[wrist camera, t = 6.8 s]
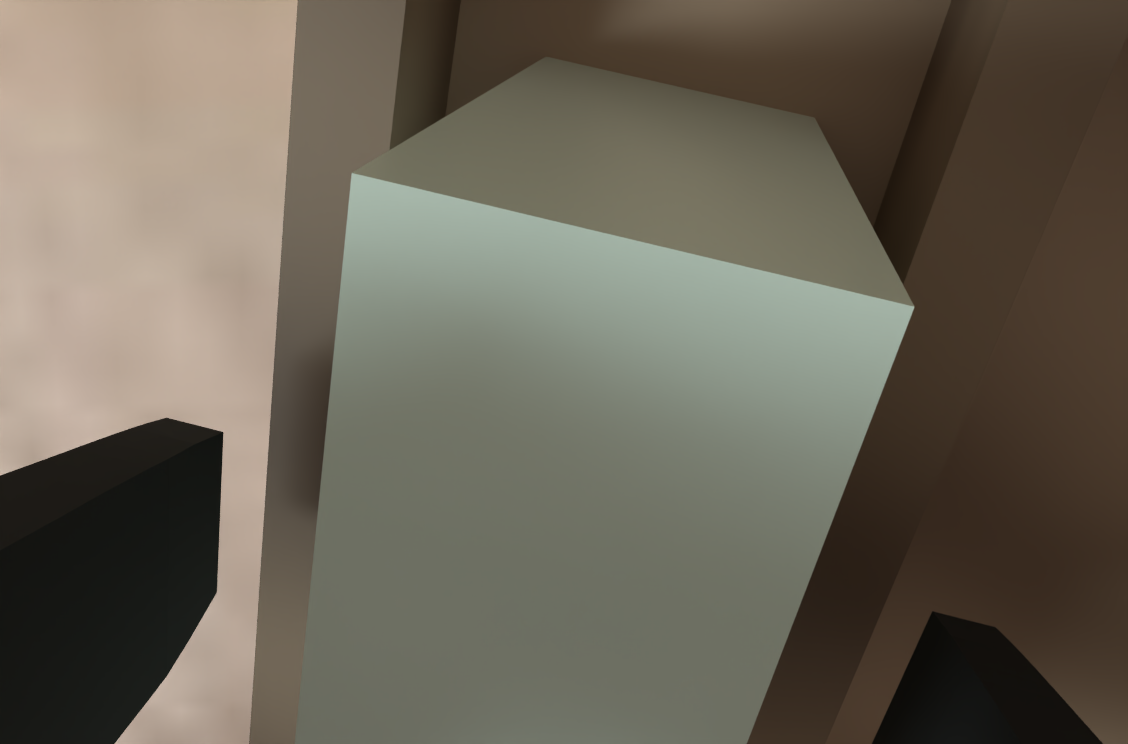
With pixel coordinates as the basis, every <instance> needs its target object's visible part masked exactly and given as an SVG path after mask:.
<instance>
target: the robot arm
mask: <svg viewBox="0 0 1128 744" xmlns="http://www.w3.org/2000/svg"><path fill="white" fill-rule="evenodd" d="M222 451H223V432H221V431H217V430H213V429H209V428H205V427H201V426H197V425H193V424H189V423H185V422H181V421H177V420H173V419H169V418H164V419H161V420H157V421H153V422H150V423H146V424H143V425H140V426H137V427H134V428H131V429H128V430H125V431H122V432H119V433H116V434H114V435H111V436H108V437H105V438H102V439H99V440H97V441H94V442H91V443H88V444H86V445H83V446H80V447H78V448H75V449H72V450H69V451H67V452H64V453H61V454H59V455H56V456H53V457H50V458H48V459H45V460H42V461H39V462H37V463H34V464H31V465H28V466H26V467H23V468H20V469H17V470H15V471H12V472H9V473H6V474H4V475H1V476H0V744H114V743H115V742H116V741H117V740H118V738H119V737H120V736H121V734H122V733H123V732H124V731H125V729H126V728H127V727H128V725H129V724H130V723H131V722H132V720H133V719H134V718H135V717H136V715H137V714H138V713H139V711H140V710H141V709H142V708H143V706H144V705H145V704H146V702H147V701H148V700H149V699H150V697H151V696H152V695H153V693H154V692H155V691H156V689H157V688H158V687H159V685H160V684H161V683H162V682H163V680H164V679H165V678H166V676H167V675H168V673H169V671H170V670H171V668H172V667H173V665H174V663H175V662H176V660H177V659H178V657H179V655H180V654H181V652H182V651H183V649H184V647H185V646H186V644H187V642H188V641H189V639H190V638H191V636H192V634H193V632H194V631H195V629H196V627H197V625H198V624H199V622H200V620H201V619H202V617H203V615H204V613H205V612H206V610H207V608H208V606H209V605H210V603H211V601H212V600H213V598H214V596H215V594H216V593H217V573H218V548H219V524H220V500H221V475H222ZM872 744H1103V743H1102V742H1101V741H1100V740H1099V739H1098V737H1097V736H1096V735H1095V734H1094V733H1093V732H1092V731H1091V730H1090V728H1089V727H1088V726H1087V725H1086V724H1085V723H1084V722H1083V721H1082V719H1081V718H1080V717H1079V716H1078V715H1077V714H1076V713H1075V712H1074V710H1073V709H1072V708H1071V707H1070V706H1069V705H1068V704H1067V703H1066V702H1065V700H1064V699H1063V698H1062V697H1061V696H1060V695H1059V694H1058V693H1057V691H1056V690H1055V689H1054V688H1053V687H1052V686H1051V685H1050V684H1049V683H1048V681H1047V680H1046V679H1045V678H1044V677H1043V676H1042V675H1041V674H1040V673H1039V672H1038V670H1037V669H1036V668H1035V667H1034V666H1033V665H1032V664H1031V663H1030V662H1029V661H1028V660H1027V658H1026V657H1025V656H1024V655H1023V654H1022V653H1021V652H1020V651H1019V650H1018V649H1017V648H1016V647H1015V646H1014V645H1013V644H1012V643H1011V642H1010V641H1009V640H1008V639H1007V638H1006V637H1005V636H1004V635H1003V634H1002V633H1001V632H1000V631H999V630H998V629H997V628H996V627H993V626H989V625H985V624H981V623H977V622H973V621H969V620H965V619H961V618H957V617H953V616H950V615H946V614H942V613H938V612H934V611H932V613H931V615H930V617H929V619H928V622H927V624H926V626H925V628H924V630H923V632H922V635H921V637H920V639H919V641H918V643H917V646H916V648H915V650H914V652H913V654H912V657H911V659H910V661H909V663H908V665H907V668H906V670H905V672H904V674H903V676H902V679H901V681H900V683H899V685H898V687H897V690H896V692H895V694H894V696H893V698H892V700H891V703H890V705H889V707H888V709H887V711H886V714H885V716H884V718H883V720H882V722H881V725H880V727H879V729H878V731H877V733H876V736H875V738H874V740H873V742H872Z"/></svg>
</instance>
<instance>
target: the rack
mask: <svg viewBox="0 0 1128 744" xmlns="http://www.w3.org/2000/svg"><path fill="white" fill-rule="evenodd" d="M544 57H550V58H555V59H559V60H563V61H568V62H572V63H577V64H581V65H585V66H590V67H594V68H599V69H603V70H607V71H612V72H616V73H621V74H625V75H629V76H634V77H638V78H643V79H647V80H651V81H656V82H660V83H664V84H669V85H673V86H678V87H682V88H686V89H691V90H695V91H700V92H704V93H708V94H713V95H717V96H722V97H726V98H730V99H735V100H739V101H744V102H748V103H752V104H757V105H761V106H766V107H770V108H774V109H779V110H783V111H788V112H792V113H796V114H801V115H805V116H809V117H814V118H815V119H816V121H817V123H818V125H819V127H820V129H821V131H822V133H823V134H824V136H825V138H826V140H827V142H828V144H829V146H830V148H831V150H832V151H833V153H834V155H835V157H836V159H837V161H838V163H839V165H840V167H841V168H842V170H843V172H844V174H845V176H846V178H847V180H848V182H849V184H850V186H851V187H852V189H853V191H854V193H855V195H856V197H857V199H858V201H859V203H860V204H861V206H862V208H863V210H864V212H865V214H866V216H867V218H868V220H869V221H870V223H871V225H872V227H873V229H874V231H875V233H876V235H877V237H878V238H879V240H880V242H881V244H882V246H883V248H884V250H885V252H886V254H887V255H888V257H889V259H890V261H891V263H892V265H893V267H894V269H895V271H896V273H897V274H898V276H899V278H900V280H901V282H902V284H903V286H904V288H905V290H906V291H907V293H908V295H909V297H910V299H911V301H912V303H913V305H914V310H913V312H912V315H911V318H910V320H909V323H908V325H907V328H906V331H905V333H904V336H903V338H902V341H901V344H900V346H899V349H898V351H897V354H896V357H895V359H894V362H893V364H892V367H891V370H890V372H889V375H888V377H887V380H886V383H885V385H884V388H883V390H882V393H881V396H880V398H879V401H878V403H877V406H876V409H875V411H874V414H873V416H872V419H871V422H870V424H869V427H868V429H867V432H866V435H865V437H864V440H863V442H862V445H861V448H860V450H859V453H858V455H857V458H856V461H855V463H854V466H853V468H852V471H851V474H850V476H849V479H848V481H847V484H846V487H845V489H844V492H843V494H842V497H841V500H840V502H839V505H838V507H837V510H836V513H835V515H834V518H833V521H832V523H831V526H830V528H829V531H828V534H827V536H826V539H825V541H824V544H823V547H822V549H821V552H820V554H819V557H818V560H817V562H816V565H815V567H814V570H813V573H812V575H811V578H810V580H809V583H808V586H807V588H806V591H805V593H804V596H803V599H802V601H801V604H800V606H799V609H798V612H797V614H796V617H795V619H794V622H793V625H792V627H791V630H790V632H789V635H788V638H787V640H786V643H785V645H784V648H783V651H782V653H781V656H780V658H779V661H778V664H777V666H776V669H775V671H774V674H773V677H772V679H771V682H770V684H769V687H768V690H767V692H766V695H765V697H764V700H763V703H762V705H761V708H760V710H759V713H758V716H757V718H756V721H755V723H754V726H753V729H752V731H751V734H750V736H749V739H748V742H747V744H872V742H873V740H874V738H875V736H876V733H877V731H878V729H879V727H880V725H881V722H882V720H883V718H884V716H885V714H886V711H887V709H888V707H889V705H890V703H891V700H892V698H893V696H894V694H895V692H896V690H897V687H898V685H899V683H900V681H901V679H902V676H903V674H904V672H905V670H906V668H907V665H908V663H909V661H910V659H911V657H912V654H913V652H914V650H915V648H916V646H917V643H918V641H919V639H920V637H921V635H922V632H923V630H924V628H925V626H926V624H927V622H928V619H929V617H930V615H931V613H932V611H934V612H938V613H942V614H946V615H950V616H953V617H957V618H961V619H965V620H969V621H973V622H977V623H981V624H985V625H989V626H993V627H996V628H997V629H998V630H999V631H1000V632H1001V633H1002V634H1003V635H1004V636H1005V637H1006V638H1007V639H1008V640H1009V641H1010V642H1011V643H1012V644H1013V645H1014V646H1015V647H1016V648H1017V649H1018V650H1019V651H1020V652H1021V653H1022V654H1023V655H1024V656H1025V657H1026V658H1027V660H1028V661H1029V662H1030V663H1031V664H1032V665H1033V666H1034V667H1035V668H1036V669H1037V670H1038V672H1039V673H1040V674H1041V675H1042V676H1043V677H1044V678H1045V679H1046V680H1047V681H1048V683H1049V684H1050V685H1051V686H1052V687H1053V688H1054V689H1055V690H1056V691H1057V693H1058V694H1059V695H1060V696H1061V697H1062V698H1063V699H1064V700H1065V702H1066V703H1067V704H1068V705H1069V706H1070V707H1071V708H1072V709H1073V710H1074V712H1075V713H1076V714H1077V715H1078V716H1079V717H1080V718H1081V719H1082V721H1083V722H1084V723H1085V724H1086V725H1087V726H1088V727H1089V728H1090V730H1091V731H1092V732H1093V733H1094V734H1095V735H1096V736H1097V737H1098V739H1099V740H1100V741H1101V742H1102V743H1103V744H1128V0H298V6H297V22H296V37H295V52H294V68H293V83H292V98H291V114H290V129H289V144H288V160H287V175H286V190H285V205H284V221H283V236H282V251H281V267H280V282H279V297H278V313H277V328H276V343H275V358H274V374H273V389H272V404H271V420H270V435H269V450H268V466H267V481H266V496H265V512H264V527H263V542H262V557H261V573H260V588H259V603H258V619H257V634H256V649H255V665H254V680H253V695H252V711H251V726H250V741H249V744H295V735H296V725H297V715H298V705H299V695H300V685H301V675H302V665H303V655H304V645H305V635H306V625H307V615H308V605H309V595H310V585H311V575H312V565H313V555H314V545H315V535H316V525H317V515H318V505H319V495H320V485H321V475H322V465H323V455H324V445H325V435H326V425H327V415H328V405H329V395H330V385H331V375H332V365H333V355H334V345H335V335H336V325H337V315H338V305H339V295H340V285H341V275H342V265H343V255H344V245H345V235H346V225H347V215H348V205H349V195H350V185H351V175H352V172H354V171H356V170H357V169H359V168H361V167H362V166H364V165H366V164H367V163H369V162H371V161H372V160H374V159H376V158H377V157H379V156H381V155H382V154H384V153H386V152H387V151H389V150H391V149H392V148H394V147H396V146H397V145H399V144H401V143H402V142H404V141H406V140H407V139H409V138H411V137H412V136H414V135H416V134H417V133H419V132H421V131H422V130H424V129H426V128H427V127H429V126H431V125H432V124H434V123H436V122H437V121H439V120H441V119H442V118H444V117H446V116H447V115H449V114H451V113H452V112H454V111H456V110H457V109H459V108H461V107H462V106H464V105H466V104H467V103H469V102H471V101H472V100H474V99H476V98H477V97H479V96H481V95H483V94H484V93H486V92H488V91H489V90H491V89H493V88H494V87H496V86H498V85H499V84H501V83H503V82H504V81H506V80H508V79H509V78H511V77H513V76H514V75H516V74H518V73H519V72H521V71H523V70H524V69H526V68H528V67H529V66H531V65H533V64H534V63H536V62H538V61H539V60H541V59H543V58H544Z"/></svg>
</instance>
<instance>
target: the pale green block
mask: <svg viewBox="0 0 1128 744" xmlns="http://www.w3.org/2000/svg"><path fill="white" fill-rule="evenodd" d="M913 310H914V305H913V303H912V301H911V299H910V297H909V295H908V293H907V291H906V290H905V288H904V286H903V284H902V282H901V280H900V278H899V276H898V274H897V273H896V271H895V269H894V267H893V265H892V263H891V261H890V259H889V257H888V255H887V254H886V252H885V250H884V248H883V246H882V244H881V242H880V240H879V238H878V237H877V235H876V233H875V231H874V229H873V227H872V225H871V223H870V221H869V220H868V218H867V216H866V214H865V212H864V210H863V208H862V206H861V204H860V203H859V201H858V199H857V197H856V195H855V193H854V191H853V189H852V187H851V186H850V184H849V182H848V180H847V178H846V176H845V174H844V172H843V170H842V168H841V167H840V165H839V163H838V161H837V159H836V157H835V155H834V153H833V151H832V150H831V148H830V146H829V144H828V142H827V140H826V138H825V136H824V134H823V133H822V131H821V129H820V127H819V125H818V123H817V121H816V119H815V118H814V117H809V116H805V115H801V114H796V113H792V112H788V111H783V110H779V109H774V108H770V107H766V106H761V105H757V104H752V103H748V102H744V101H739V100H735V99H730V98H726V97H722V96H717V95H713V94H708V93H704V92H700V91H695V90H691V89H686V88H682V87H678V86H673V85H669V84H664V83H660V82H656V81H651V80H647V79H643V78H638V77H634V76H629V75H625V74H621V73H616V72H612V71H607V70H603V69H599V68H594V67H590V66H585V65H581V64H577V63H572V62H568V61H563V60H559V59H555V58H550V57H544V58H543V59H541V60H539V61H538V62H536V63H534V64H533V65H531V66H529V67H528V68H526V69H524V70H523V71H521V72H519V73H518V74H516V75H514V76H513V77H511V78H509V79H508V80H506V81H504V82H503V83H501V84H499V85H498V86H496V87H494V88H493V89H491V90H489V91H488V92H486V93H484V94H483V95H481V96H479V97H477V98H476V99H474V100H472V101H471V102H469V103H467V104H466V105H464V106H462V107H461V108H459V109H457V110H456V111H454V112H452V113H451V114H449V115H447V116H446V117H444V118H442V119H441V120H439V121H437V122H436V123H434V124H432V125H431V126H429V127H427V128H426V129H424V130H422V131H421V132H419V133H417V134H416V135H414V136H412V137H411V138H409V139H407V140H406V141H404V142H402V143H401V144H399V145H397V146H396V147H394V148H392V149H391V150H389V151H387V152H386V153H384V154H382V155H381V156H379V157H377V158H376V159H374V160H372V161H371V162H369V163H367V164H366V165H364V166H362V167H361V168H359V169H357V170H356V171H354V172H352V175H351V185H350V195H349V205H348V215H347V225H346V235H345V245H344V255H343V265H342V275H341V285H340V295H339V305H338V315H337V325H336V335H335V345H334V355H333V365H332V375H331V385H330V395H329V405H328V415H327V425H326V435H325V445H324V455H323V465H322V475H321V485H320V495H319V505H318V515H317V525H316V535H315V545H314V555H313V565H312V575H311V585H310V595H309V605H308V615H307V625H306V635H305V645H304V655H303V665H302V675H301V685H300V695H299V705H298V715H297V725H296V735H295V744H747V742H748V739H749V736H750V734H751V731H752V729H753V726H754V723H755V721H756V718H757V716H758V713H759V710H760V708H761V705H762V703H763V700H764V697H765V695H766V692H767V690H768V687H769V684H770V682H771V679H772V677H773V674H774V671H775V669H776V666H777V664H778V661H779V658H780V656H781V653H782V651H783V648H784V645H785V643H786V640H787V638H788V635H789V632H790V630H791V627H792V625H793V622H794V619H795V617H796V614H797V612H798V609H799V606H800V604H801V601H802V599H803V596H804V593H805V591H806V588H807V586H808V583H809V580H810V578H811V575H812V573H813V570H814V567H815V565H816V562H817V560H818V557H819V554H820V552H821V549H822V547H823V544H824V541H825V539H826V536H827V534H828V531H829V528H830V526H831V523H832V521H833V518H834V515H835V513H836V510H837V507H838V505H839V502H840V500H841V497H842V494H843V492H844V489H845V487H846V484H847V481H848V479H849V476H850V474H851V471H852V468H853V466H854V463H855V461H856V458H857V455H858V453H859V450H860V448H861V445H862V442H863V440H864V437H865V435H866V432H867V429H868V427H869V424H870V422H871V419H872V416H873V414H874V411H875V409H876V406H877V403H878V401H879V398H880V396H881V393H882V390H883V388H884V385H885V383H886V380H887V377H888V375H889V372H890V370H891V367H892V364H893V362H894V359H895V357H896V354H897V351H898V349H899V346H900V344H901V341H902V338H903V336H904V333H905V331H906V328H907V325H908V323H909V320H910V318H911V315H912V312H913Z"/></svg>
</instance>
